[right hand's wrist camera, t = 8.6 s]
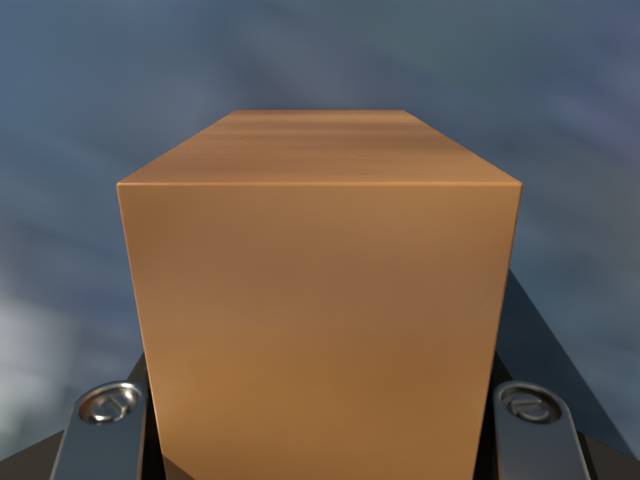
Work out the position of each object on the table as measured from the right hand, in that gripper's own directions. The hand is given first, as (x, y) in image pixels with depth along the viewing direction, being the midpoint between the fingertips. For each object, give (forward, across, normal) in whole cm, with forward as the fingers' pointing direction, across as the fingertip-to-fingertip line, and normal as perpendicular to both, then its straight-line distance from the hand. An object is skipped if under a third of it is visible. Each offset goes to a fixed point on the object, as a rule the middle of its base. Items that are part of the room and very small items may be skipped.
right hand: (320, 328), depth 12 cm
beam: (+3, 0, -34) cm, 35 cm away
